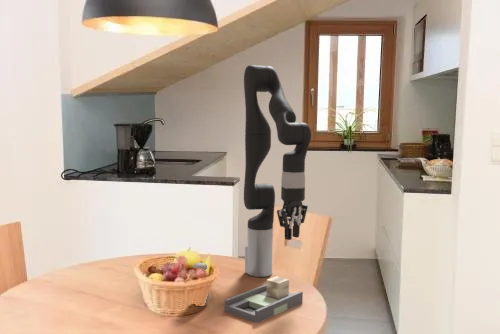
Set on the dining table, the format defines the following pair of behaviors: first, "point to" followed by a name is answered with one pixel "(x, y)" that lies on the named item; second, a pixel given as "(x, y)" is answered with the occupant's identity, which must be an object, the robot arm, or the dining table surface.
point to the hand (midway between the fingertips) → (291, 237)
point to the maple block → (277, 287)
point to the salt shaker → (204, 266)
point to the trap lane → (260, 304)
